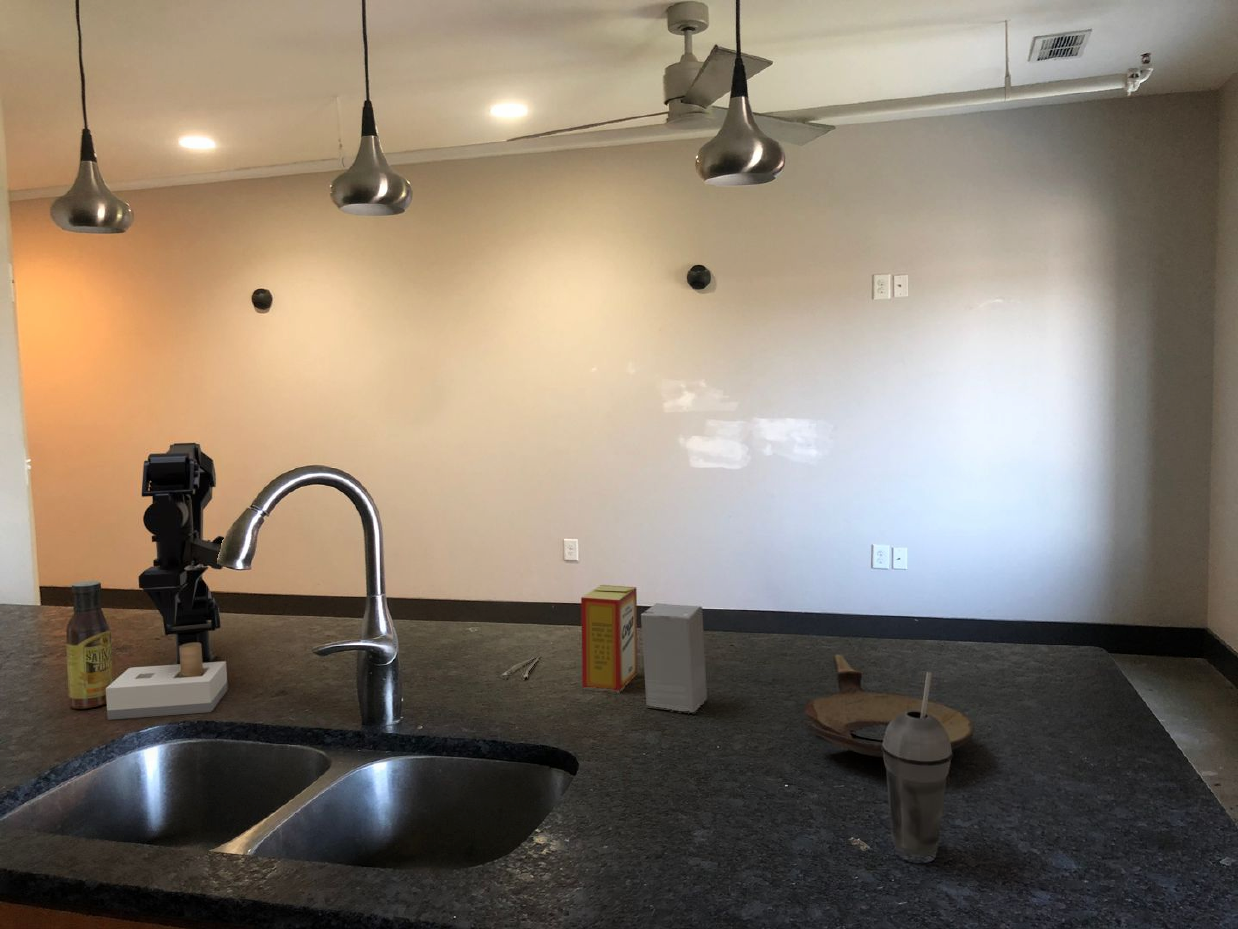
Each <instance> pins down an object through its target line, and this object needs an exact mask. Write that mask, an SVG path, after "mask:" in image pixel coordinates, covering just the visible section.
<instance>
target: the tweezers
mask: <svg viewBox="0 0 1238 929" xmlns="http://www.w3.org/2000/svg"><path fill="white" fill-rule="evenodd" d="M533 658H534V657H532V658H529V659H527V660H525V661H522V662H519V663H517V664H515V665H513V666H511V668H509V669H508V670H506V671H505V672H503V673H502V674H501V676H502V675H507V674H508V673H510V671H511V672H512V671H513V670H515V669H517V668H519V667H520V666H521V665H522V664H524V663H526V662H528V661H530V660H531V659H533ZM537 660H538V658H536V659H535V660H534V662H532V664H531V665H529V667H528V668H527V669H526V671H525V674H524V675H523V676H524V677H527V678H528V677H529V675H528V671H529V670H530V669H531V668H532V667H533V665H534V664H535V662H537ZM538 661H539V660H538ZM537 663H538V662H537ZM535 665H536V664H535ZM533 668H534V667H533ZM533 668H532V669H533Z"/></svg>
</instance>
